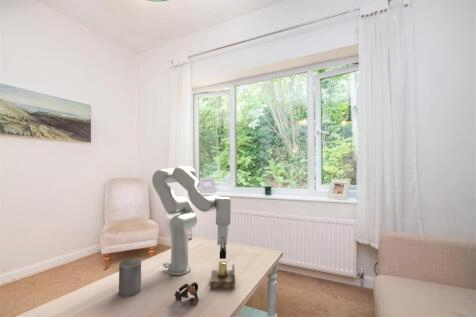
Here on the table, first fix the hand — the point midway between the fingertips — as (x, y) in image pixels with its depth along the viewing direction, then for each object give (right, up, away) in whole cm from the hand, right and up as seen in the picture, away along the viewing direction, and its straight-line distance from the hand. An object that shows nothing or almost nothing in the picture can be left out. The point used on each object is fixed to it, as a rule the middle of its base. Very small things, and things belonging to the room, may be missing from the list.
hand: (222, 256), depth 121 cm
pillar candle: (-44, -13, -9) cm, 47 cm away
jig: (0, -13, 0) cm, 13 cm away
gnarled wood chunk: (-14, -13, -16) cm, 25 cm away
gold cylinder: (0, -13, 0) cm, 13 cm away
